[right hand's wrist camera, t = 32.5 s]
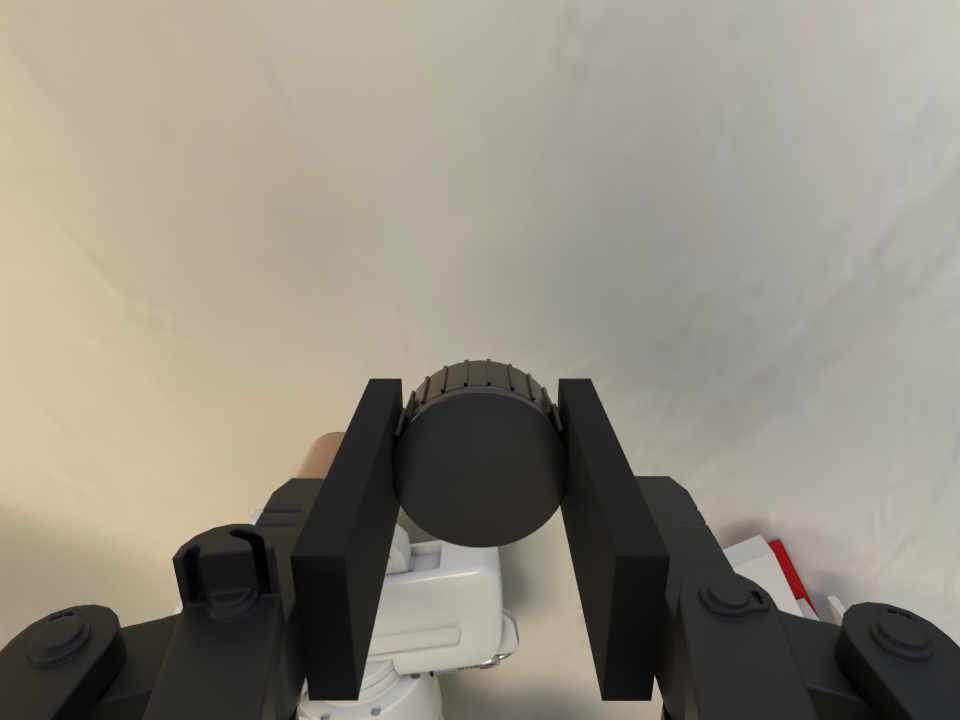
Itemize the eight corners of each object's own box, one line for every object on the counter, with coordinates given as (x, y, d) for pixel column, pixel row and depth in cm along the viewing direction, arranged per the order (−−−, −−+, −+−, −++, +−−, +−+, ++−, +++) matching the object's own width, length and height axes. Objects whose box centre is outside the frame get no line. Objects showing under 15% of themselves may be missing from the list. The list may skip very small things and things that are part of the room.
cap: (445, 329, 14) (439, 357, 12) (591, 402, 14) (607, 440, 13) (372, 461, 15) (358, 506, 13) (511, 524, 16) (515, 574, 14)
